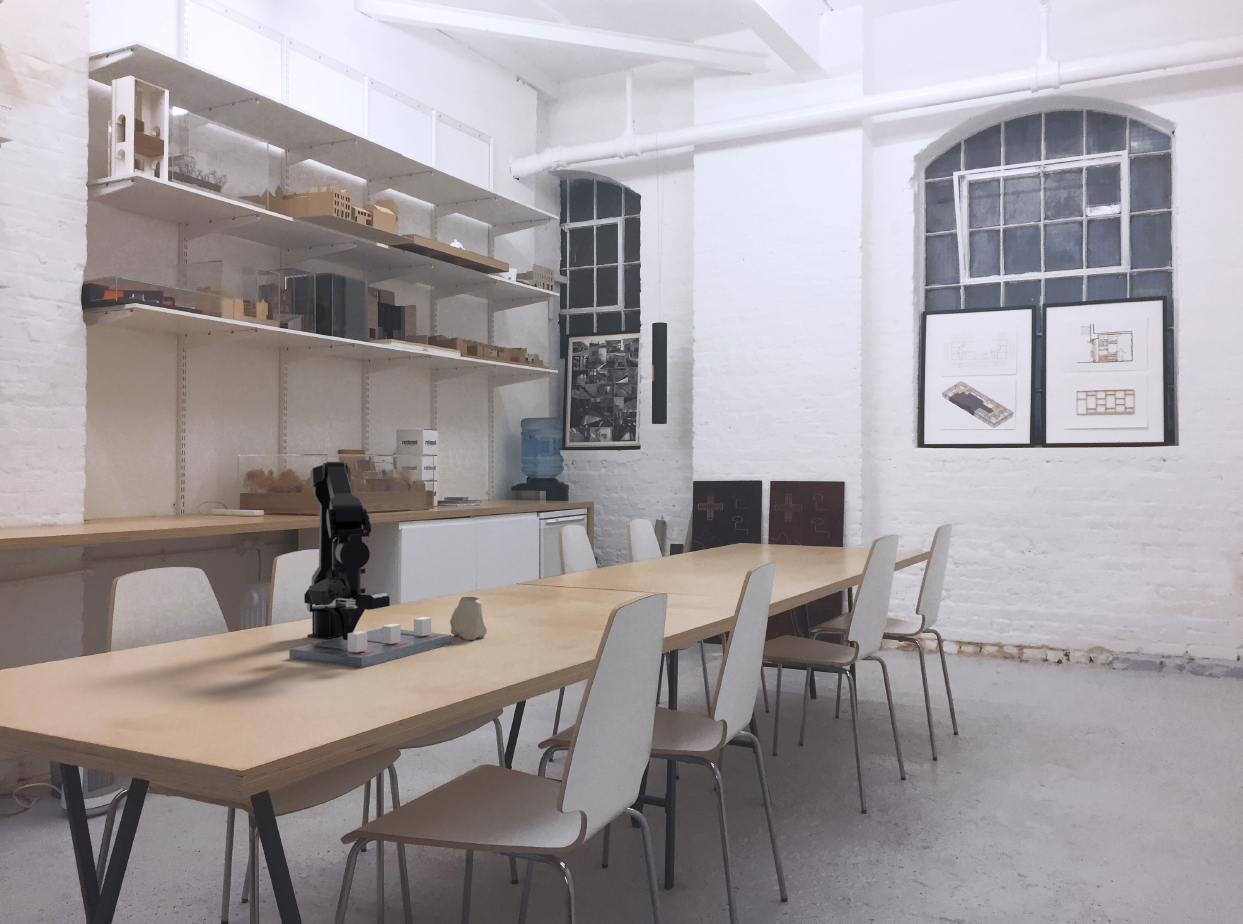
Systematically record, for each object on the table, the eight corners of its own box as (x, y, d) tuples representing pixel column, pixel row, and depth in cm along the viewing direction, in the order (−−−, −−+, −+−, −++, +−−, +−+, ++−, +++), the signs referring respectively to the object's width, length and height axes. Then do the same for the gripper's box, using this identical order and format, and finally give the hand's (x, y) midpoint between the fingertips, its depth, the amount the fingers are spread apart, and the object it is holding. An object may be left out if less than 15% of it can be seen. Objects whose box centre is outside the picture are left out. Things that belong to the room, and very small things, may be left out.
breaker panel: (289, 658, 192) (289, 648, 192) (383, 636, 216) (383, 627, 216) (361, 668, 182) (361, 657, 182) (451, 643, 207) (451, 634, 207)
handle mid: (382, 642, 196) (382, 625, 196) (391, 640, 199) (391, 623, 199) (390, 643, 195) (390, 626, 195) (400, 641, 198) (400, 624, 198)
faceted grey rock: (486, 646, 215) (498, 604, 218) (470, 639, 208) (484, 597, 211) (453, 639, 218) (466, 598, 221) (437, 632, 212) (451, 590, 215)
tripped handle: (347, 651, 187) (347, 633, 187) (358, 648, 190) (358, 631, 190) (356, 652, 186) (356, 634, 186) (367, 649, 189) (367, 632, 189)
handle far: (413, 635, 205) (413, 618, 205) (422, 632, 208) (422, 616, 208) (422, 636, 204) (422, 619, 204) (431, 633, 206) (431, 617, 206)
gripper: (283, 565, 188) (283, 642, 188) (351, 570, 179) (351, 651, 179) (324, 560, 198) (324, 633, 198) (391, 565, 189) (391, 641, 189)
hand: (346, 639), depth 191 cm, fingers closed
